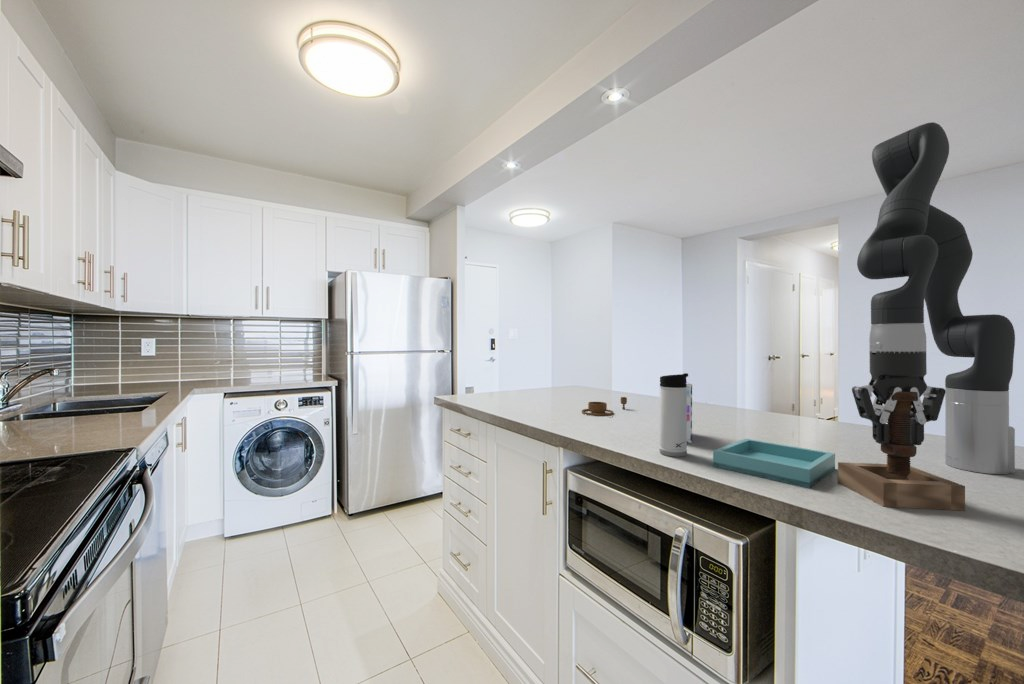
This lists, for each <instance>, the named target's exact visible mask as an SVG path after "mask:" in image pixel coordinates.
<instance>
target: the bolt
mask: <svg viewBox="0 0 1024 684" xmlns="http://www.w3.org/2000/svg"><path fill="white" fill-rule="evenodd" d="M890 393H891V391H889V394H890ZM892 400H897V402H896V405H895V408H894V410H893V412H891V413H890V415H889V418H888V420H887V423H886V424H888V445H882V444H880V451H881V452H882V453H883V454H886V464H887V465H888V466H887V471H888V472H889V473H892V474H897V475H906V476H907V475H909V474H910V473H911V472H910V471H911V470H910V466H911V458H914V457H915V456H916V455H917V450H918V449H917V445H913V444H910V443H911V442H910V441H911V440H910V434H911V433H910V432H911V431H910V430H911V429H910V428H911V427H910V426H911V425H910V424H911V423H910V422H911V421H910V419H911V418H910V417H911V416H910V415H911V414H910V413H911V412H910V411H911V401H918V392H908V391H902V392H896V393H894V395H893V396H892Z"/></svg>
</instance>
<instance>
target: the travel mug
mask: <svg viewBox="0 0 1024 684" xmlns="http://www.w3.org/2000/svg"><path fill="white" fill-rule="evenodd" d="M687 377H688V378H689V373H688V372H687V373H686V372H685V373H682V374H681V373H679V374H670V375H662V376H660V377H659V453H660V454H661V455H663V456H666V457H672V458H682V457H685V456H687V455H688V449H687V446H688V443H687V390H686V389H687V385H686V383H688V381H687Z"/></svg>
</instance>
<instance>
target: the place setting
mask: <svg viewBox="0 0 1024 684" xmlns="http://www.w3.org/2000/svg"><path fill="white" fill-rule="evenodd" d="M627 402H628V398H627V397H625V396H621V397H620V404H621V405H622V410H625V409H626V407H625V405H627ZM587 405H588V408H584V409H582V410H581V413H582V414H583V415H585V414H587V415H586V416H590V415H594V416H593V417H607V416H608V415H609V416H612V415H613V414H614V411H613V410H612V409H608V407H607V402H604V401H589V402H588V404H587ZM584 411H585V412H584ZM613 417H614V415H613V416H612V417H611V418H613Z"/></svg>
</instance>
